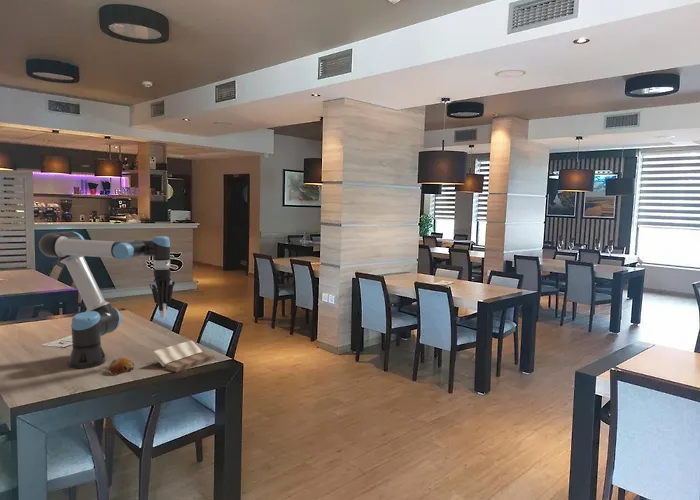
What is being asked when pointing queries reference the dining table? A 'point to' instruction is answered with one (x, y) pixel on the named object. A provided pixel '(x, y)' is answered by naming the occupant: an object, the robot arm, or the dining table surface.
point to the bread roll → (121, 365)
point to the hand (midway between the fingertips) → (163, 316)
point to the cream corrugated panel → (176, 352)
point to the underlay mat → (170, 370)
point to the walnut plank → (189, 362)
